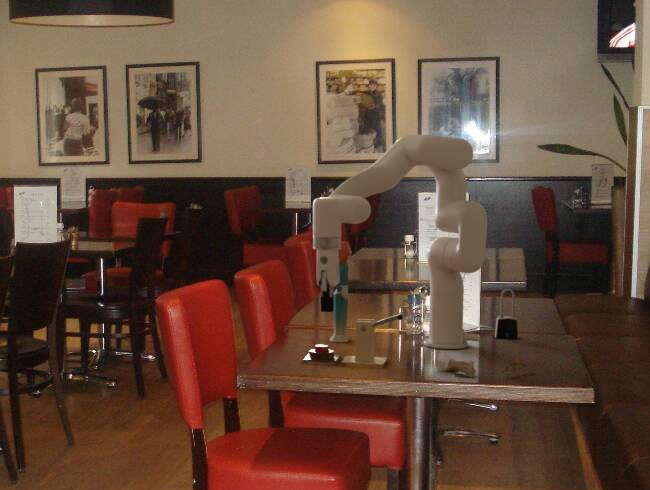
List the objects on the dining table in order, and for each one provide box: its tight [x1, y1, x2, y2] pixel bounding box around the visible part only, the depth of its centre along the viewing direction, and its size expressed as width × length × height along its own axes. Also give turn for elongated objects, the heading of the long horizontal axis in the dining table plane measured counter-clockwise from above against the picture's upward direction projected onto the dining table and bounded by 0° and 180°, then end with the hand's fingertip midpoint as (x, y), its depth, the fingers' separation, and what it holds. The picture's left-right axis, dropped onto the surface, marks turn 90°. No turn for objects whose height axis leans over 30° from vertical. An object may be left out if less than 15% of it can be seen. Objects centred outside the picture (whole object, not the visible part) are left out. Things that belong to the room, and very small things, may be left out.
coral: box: [434, 358, 477, 378], centre depth 265 cm, size 6×10×4 cm, turn 61°
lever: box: [368, 311, 406, 327], centre depth 276 cm, size 12×5×2 cm, turn 74°
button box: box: [302, 348, 342, 363], centre depth 281 cm, size 9×8×3 cm
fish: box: [501, 356, 533, 378], centre depth 262 cm, size 12×2×5 cm, turn 126°
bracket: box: [341, 318, 388, 366], centre depth 277 cm, size 11×9×12 cm
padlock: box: [494, 288, 520, 340], centre depth 316 cm, size 7×4×15 cm, turn 80°
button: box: [314, 344, 330, 352], centre depth 281 cm, size 4×4×2 cm
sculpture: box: [328, 240, 353, 343], centre depth 311 cm, size 13×7×30 cm, turn 168°
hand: (327, 311), depth 281 cm, fingers closed
